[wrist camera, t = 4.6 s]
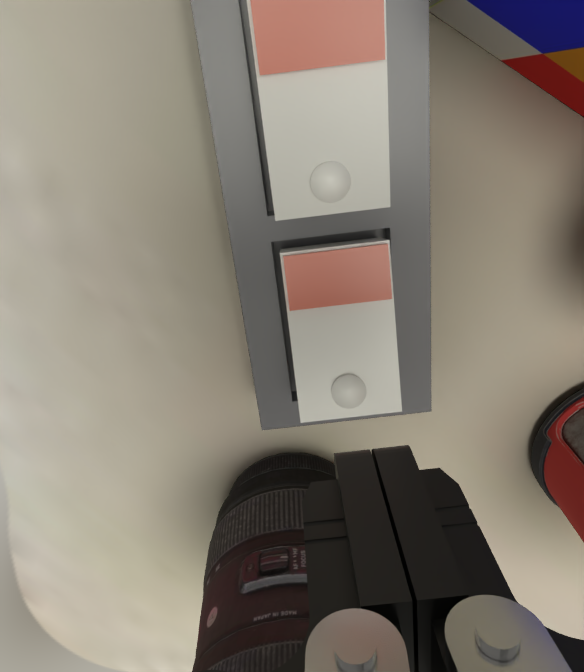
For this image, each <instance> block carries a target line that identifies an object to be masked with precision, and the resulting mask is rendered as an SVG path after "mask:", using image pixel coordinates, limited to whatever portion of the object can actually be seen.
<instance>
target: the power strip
mask: <svg viewBox="0 0 584 672" xmlns="http://www.w3.org/2000/svg"><path fill="white" fill-rule="evenodd" d="M191 6H192V12H193V18H194V24H195V30H196V36H197V42H198V48H199V55H200V61H201V67H202V73H203V79H204V85H205V91H206V97H207V103H208V109H209V115H210V121H211V127H212V133H213V139H214V145H215V151H216V157H217V163H218V169H219V175H220V181H221V187H222V193H223V199H224V205H225V211H226V217H227V223H228V229H229V235H230V241H231V247H232V253H233V259H234V265H235V271H236V277H237V283H238V289H239V295H240V301H241V307H242V313H243V319H244V325H245V331H246V337H247V343H248V349H249V355H250V361H251V367H252V373H253V379H254V385H255V391H256V397H257V403H258V409H259V415H260V421H261V427H262V430H269V429H278V428H287V427H296V426H305V425H314V424H323V423H332V422H341V421H350V420H359V419H368V418H377V417H386V416H395V415H403V414H412V413H421V412H430V411H431V267H430V93H429V0H386V34H387V77H388V121H389V164H390V207H387V208H378V209H370V210H362V211H354V212H345V213H337V214H329V215H321V216H312V217H304V218H296V219H288V220H279V221H275V214H274V207H273V199H272V191H271V184H270V176H269V168H268V161H267V153H266V145H265V138H264V130H263V122H262V115H261V107H260V99H259V92H258V84H257V76H256V69H255V61H254V53H253V46H252V38H251V30H250V23H249V15H248V7H247V0H191ZM376 237H382V238H385V239H388V240H390V254H391V267H392V281H393V295H394V308H395V322H396V335H397V349H398V363H399V376H400V390H401V403H402V412H394V413H385V414H376V415H367V416H358V417H349V418H340V419H331V420H322V421H313V422H304V423H301V422H300V414H299V406H298V398H297V389H296V381H295V373H294V365H293V357H292V348H291V340H290V332H289V324H288V316H287V308H286V299H285V291H284V283H283V275H282V267H281V259H280V250H281V249H285V248H293V247H301V246H310V245H318V244H326V243H335V242H343V241H351V240H360V239H368V238H376Z"/></svg>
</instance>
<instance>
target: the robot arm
mask: <svg viewBox="0 0 584 672" xmlns="http://www.w3.org/2000/svg"><path fill="white" fill-rule="evenodd" d="M334 462H335V472H336V479H335V480H326V481H317V482H311V483H310V486H309V488H308V490H307V492H306V494H305V496H304V498H303V500H302V511H303V525H304V541H305V555H306V570H307V585H308V600H309V627H308V632H307V634H306V637H305V639H304V641H303V643H302V645H301V647H300V648H299V649H298V651H297V652H296V653H295V654H294V655H293V656H292V657H291V658H290V659H289V660H288V661H287V662H286V663H284V664H283V665H282V666H280V667H278V668H277V669H275V670H273V671H271V672H584V640H580V639H575V638H571V637H568V636H565V635H562V634H559V633H557V632H555V631H553V630H551V629H549V628H547V627H545V626H544V625H543V624H542V622H541V621H540V620H539V619H538V618H537V617H536V616H535V615H534V614H533V613H532V612H530V611H529V610H528V609H527V608H525V607H523V606H522V605H520V604H518V602H517V601H516V599H515V598H514V596H513V594H512V593H511V590H510V588H509V586H508V584H507V582H506V580H505V578H504V576H503V574H502V572H501V570H500V568H499V566H498V564H497V562H496V560H495V558H494V556H493V554H492V552H491V549H490V547H489V545H488V543H487V541H486V539H485V537H484V535H483V533H482V531H481V529H480V527H479V526H478V525H477V521H476V519H475V517H474V515H473V513H472V511H471V509H469V504H468V502H467V500H466V498H465V496H464V494H463V492H462V490H461V488H460V486H459V484H458V483H457V482H455V481H454V480H453V479H452V478H451V477H450V476H448V475H447V474H446V473H445V472H444V471H442V470H441V469H440V468H435V469H426V470H419V468H418V466H417V463H416V461H415V458H414V456H413V453H412V451H411V449H410V447H409V446H408V445H405V446H396V447H387V448H378V449H372V454H371V451H370V450H361V451H352V452H343V453H334ZM199 672H225V671H221V670H204V671H199Z"/></svg>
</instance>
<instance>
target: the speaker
mask: <svg viewBox="0 0 584 672" xmlns="http://www.w3.org/2000/svg"><path fill="white" fill-rule="evenodd" d="M531 462H532V468H533V473H534V475H535V478H536V479H537V481H538V483H539V484H540V486H541V487H542V489H543V490H544V492H545V493H546V495H547V496H548V497H549V499H550V500H551V501H552V502H553V503H554V504H556V505H557V506H558V507H560V508H561V510H562V511H563V513H564V514H565V516H566V517H567V519H568V520H569V521H570V523H571V524H572V526H573V527H574V529H575V530H576V532H577V533H578V535H579V536H580V537H581V539H582V540H583V542H584V389H582V390H580V391H578V392H577V393H575V394H573V395H572V396H570V397H569V398H567V399H566V400H565V401H563V402H562V403H561V404H560V405H559V406H558V407H557V408H556V409H555V410H554V411H552V413H551V414H550V415H549V416H548V417H547V418H546V420H545V421H544V423H543V424H542V426H541V427H540V429H539V431H538V433H537V436H536V438H535V440H534V444H533V448H532V454H531Z"/></svg>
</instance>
